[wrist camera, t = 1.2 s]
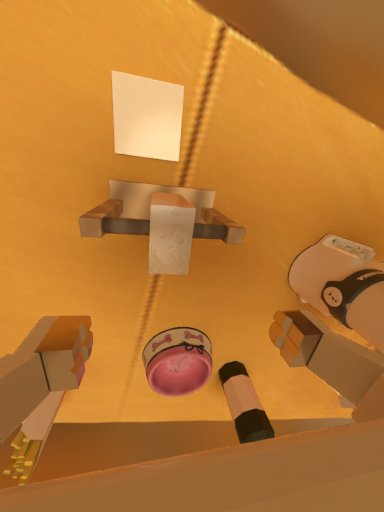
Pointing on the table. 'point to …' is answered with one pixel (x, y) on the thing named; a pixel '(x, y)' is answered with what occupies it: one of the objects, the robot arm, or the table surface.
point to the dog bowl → (178, 361)
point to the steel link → (170, 233)
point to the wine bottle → (244, 404)
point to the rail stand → (138, 213)
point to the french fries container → (33, 437)
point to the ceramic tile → (146, 116)
